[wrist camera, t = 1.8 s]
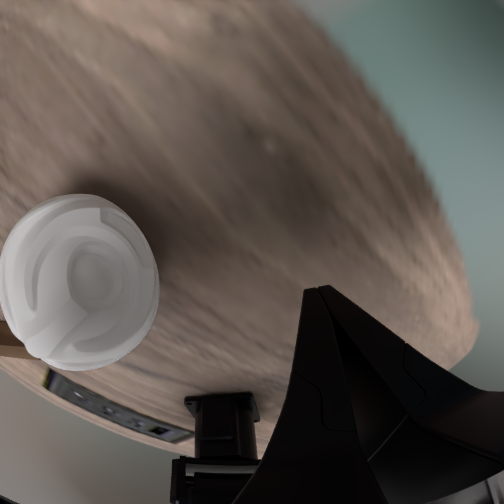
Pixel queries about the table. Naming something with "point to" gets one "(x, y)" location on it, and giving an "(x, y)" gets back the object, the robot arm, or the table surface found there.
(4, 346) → the carrier cradle
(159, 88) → the table surface
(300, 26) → the table surface
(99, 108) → the table surface
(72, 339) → the white carved ball
